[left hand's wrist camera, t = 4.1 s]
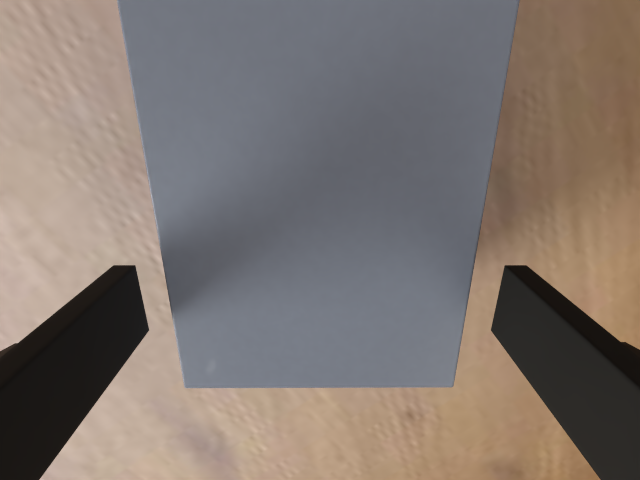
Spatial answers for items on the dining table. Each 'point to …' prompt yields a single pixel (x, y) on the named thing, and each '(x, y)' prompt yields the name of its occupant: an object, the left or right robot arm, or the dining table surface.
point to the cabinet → (318, 180)
